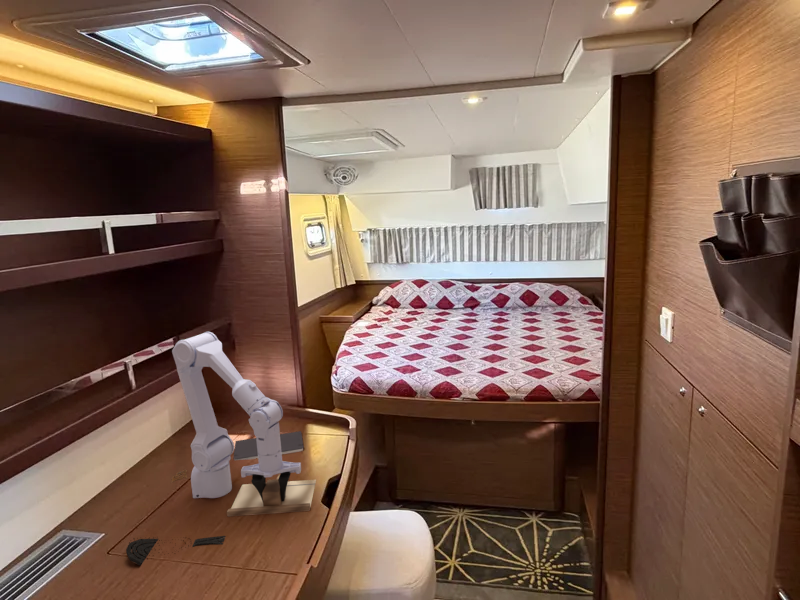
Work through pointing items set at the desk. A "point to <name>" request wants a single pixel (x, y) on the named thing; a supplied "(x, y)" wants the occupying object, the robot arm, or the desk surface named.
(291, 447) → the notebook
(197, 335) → the robot arm
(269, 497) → the marking gauge
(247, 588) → the desk surface
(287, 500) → the plywood board
